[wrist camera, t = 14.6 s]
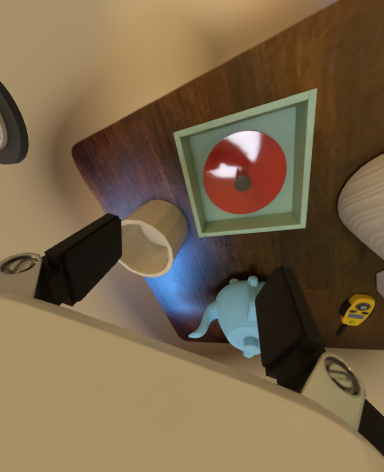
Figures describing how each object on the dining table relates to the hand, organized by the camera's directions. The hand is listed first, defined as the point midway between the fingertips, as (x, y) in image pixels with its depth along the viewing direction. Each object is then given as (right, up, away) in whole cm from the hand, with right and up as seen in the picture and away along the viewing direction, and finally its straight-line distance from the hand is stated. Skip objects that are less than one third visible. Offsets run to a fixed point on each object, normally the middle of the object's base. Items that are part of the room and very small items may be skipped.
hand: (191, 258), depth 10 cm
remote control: (+37, -17, +30) cm, 51 cm away
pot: (-7, +4, +29) cm, 30 cm away
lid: (+9, +12, +19) cm, 24 cm away
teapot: (+14, -14, +34) cm, 39 cm away
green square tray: (+9, +12, +20) cm, 25 cm away
